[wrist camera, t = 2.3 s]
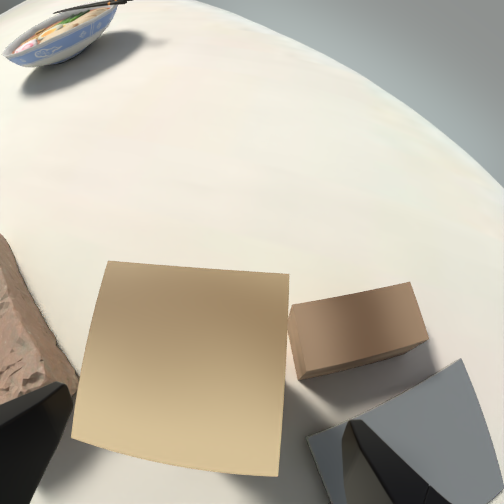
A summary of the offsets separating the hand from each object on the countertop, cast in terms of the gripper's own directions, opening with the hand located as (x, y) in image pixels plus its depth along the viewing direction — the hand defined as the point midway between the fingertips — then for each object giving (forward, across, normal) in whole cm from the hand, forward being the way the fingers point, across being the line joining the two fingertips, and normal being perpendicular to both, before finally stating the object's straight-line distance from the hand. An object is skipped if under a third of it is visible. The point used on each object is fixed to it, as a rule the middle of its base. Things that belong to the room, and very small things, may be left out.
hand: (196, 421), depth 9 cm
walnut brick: (+10, -7, +3) cm, 13 cm away
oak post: (+7, 0, +5) cm, 9 cm away
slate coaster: (+4, -12, +9) cm, 15 cm away
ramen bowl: (+42, +36, -29) cm, 62 cm away
